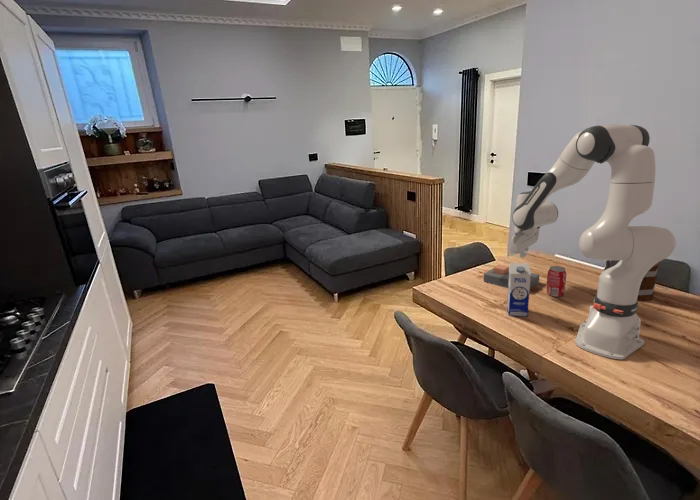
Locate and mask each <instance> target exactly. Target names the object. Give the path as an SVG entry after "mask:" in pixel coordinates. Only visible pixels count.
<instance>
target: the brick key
mask: <svg viewBox="0 0 700 500" xmlns="http://www.w3.org/2000/svg"><path fill="white" fill-rule="evenodd" d="M493 268H494V273H497V274H501V275H505V274H507V273H508V272H509V266H507V265H505V264H504V265H503V264H497V265H496V266H493Z"/></svg>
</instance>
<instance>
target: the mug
mask: <svg viewBox="0 0 700 500" xmlns="http://www.w3.org/2000/svg"><path fill="white" fill-rule="evenodd" d="M614 261H615V263H616V264H617V263H618V262H619V261H620V260H614ZM660 264H661V261H659V262H658V263H657V264H655V265H654V266H653V267H652V268H651V269H650V270H649V271H648V272H647V273H646V275H645V276H644V278H643V280H642V282H641V285H640V289H639V293H638V298H637V300H638V302H647V301H648V302H649V301H652V299H653V298H654V296H655V295H654V293H655V285H656V282H657V278H658V270H659V266H660ZM608 268H611V260H605V270H606V269H608Z"/></svg>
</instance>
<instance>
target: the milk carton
mask: <svg viewBox="0 0 700 500" xmlns="http://www.w3.org/2000/svg"><path fill="white" fill-rule="evenodd" d="M508 265H509V266H508V267H509V281H508V288H507V300H506V310H507V313H508V316H509V317H525V318H527V317H529V316H528V315H529V314H528V312H529V302H530V301H529V300H530V290H531V289H530V277H531V273H532V271H531V267H530V265H529V263H525V262H524V263H522V262H509V264H508Z"/></svg>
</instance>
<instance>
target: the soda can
mask: <svg viewBox="0 0 700 500" xmlns="http://www.w3.org/2000/svg"><path fill="white" fill-rule="evenodd" d="M566 285H567V271H566V268H565V267H563V266H561V265H559V266H558V265H551V266H550V267H549V269H548V270H547V276H546V287H545V288H546V289H545V290H546V293H547V294H548V295H549V296H550V297H556V298H559V297H561V296H564V295H565V291H566Z"/></svg>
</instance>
